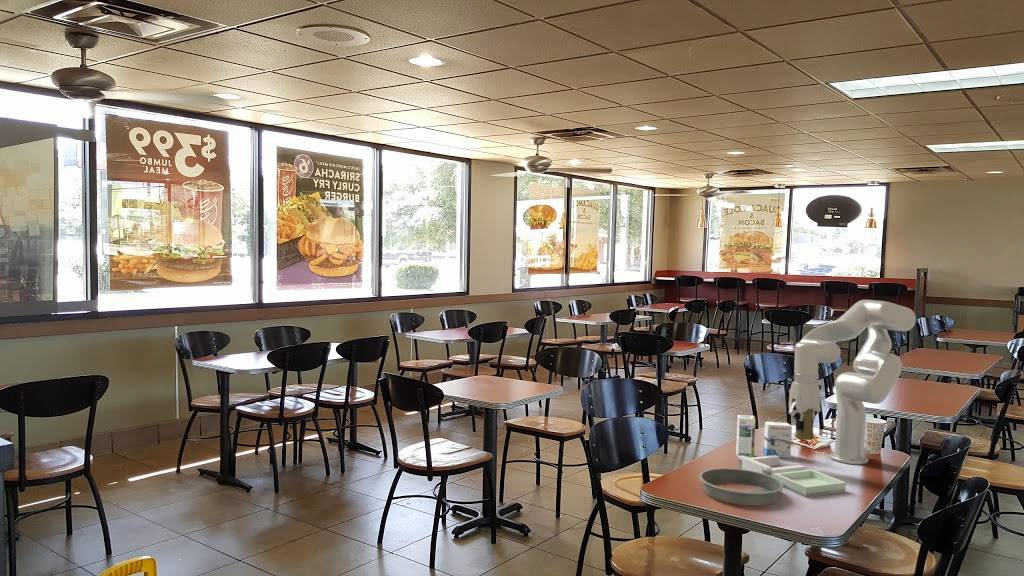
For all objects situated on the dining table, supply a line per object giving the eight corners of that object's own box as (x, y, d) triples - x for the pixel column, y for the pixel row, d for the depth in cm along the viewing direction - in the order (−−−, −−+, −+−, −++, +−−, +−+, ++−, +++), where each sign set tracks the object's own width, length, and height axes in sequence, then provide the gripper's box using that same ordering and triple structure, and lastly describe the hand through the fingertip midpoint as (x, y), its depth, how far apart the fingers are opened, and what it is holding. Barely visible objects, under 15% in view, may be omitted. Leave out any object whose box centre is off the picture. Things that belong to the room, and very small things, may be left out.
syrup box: (737, 457, 263) (739, 417, 262) (735, 452, 268) (737, 413, 268) (753, 458, 261) (755, 418, 261) (752, 454, 267) (754, 415, 266)
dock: (774, 463, 256) (775, 452, 256) (804, 475, 243) (805, 463, 243) (737, 467, 250) (738, 455, 250) (766, 479, 237) (766, 467, 237)
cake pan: (801, 501, 218) (801, 487, 218) (738, 513, 207) (739, 497, 207) (741, 477, 240) (742, 464, 240) (682, 486, 229) (682, 472, 229)
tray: (811, 478, 241) (811, 469, 240) (845, 491, 228) (845, 482, 227) (772, 482, 235) (773, 473, 234) (805, 497, 222) (805, 487, 221)
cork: (805, 440, 247) (806, 408, 247) (791, 436, 253) (792, 404, 252) (817, 438, 250) (818, 406, 249) (803, 434, 256) (804, 402, 255)
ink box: (766, 456, 265) (767, 424, 264) (762, 452, 270) (764, 421, 269) (790, 458, 264) (792, 426, 263) (787, 454, 269) (788, 422, 268)
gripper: (816, 374, 257) (814, 426, 258) (779, 378, 250) (777, 430, 252) (832, 378, 250) (831, 431, 251) (795, 382, 243) (793, 436, 245)
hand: (804, 430), depth 251 cm, fingers closed on cork, 3 cm apart
